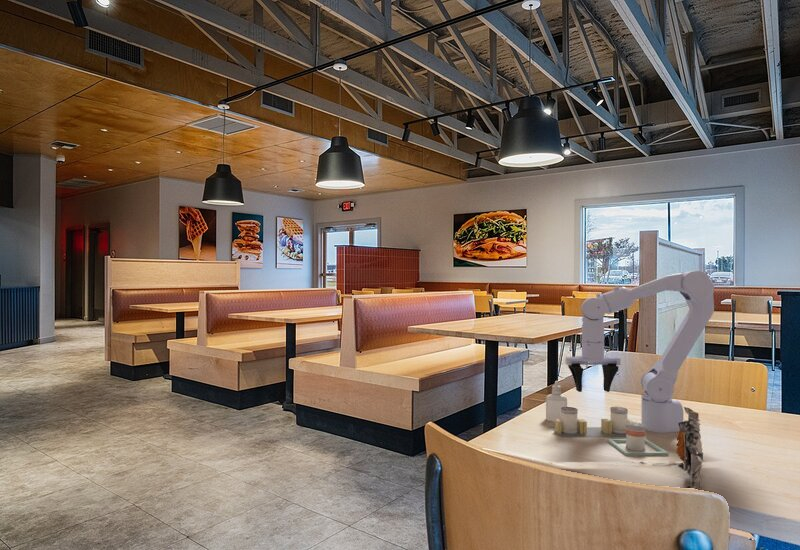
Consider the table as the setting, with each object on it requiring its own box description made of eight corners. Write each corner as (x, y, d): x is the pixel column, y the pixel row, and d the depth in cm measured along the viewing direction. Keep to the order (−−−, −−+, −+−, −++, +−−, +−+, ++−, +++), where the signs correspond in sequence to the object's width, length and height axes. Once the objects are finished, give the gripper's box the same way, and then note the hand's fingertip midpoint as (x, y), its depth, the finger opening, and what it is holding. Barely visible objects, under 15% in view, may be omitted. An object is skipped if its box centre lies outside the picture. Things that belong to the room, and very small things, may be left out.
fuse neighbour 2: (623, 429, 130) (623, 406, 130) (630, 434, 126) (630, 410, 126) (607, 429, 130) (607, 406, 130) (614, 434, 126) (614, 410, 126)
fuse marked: (649, 452, 115) (649, 426, 115) (635, 454, 114) (635, 428, 114) (635, 446, 119) (635, 421, 119) (621, 448, 117) (622, 423, 117)
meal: (674, 465, 109) (674, 405, 109) (697, 468, 107) (697, 408, 107) (677, 492, 95) (677, 423, 95) (703, 496, 93) (704, 427, 93)
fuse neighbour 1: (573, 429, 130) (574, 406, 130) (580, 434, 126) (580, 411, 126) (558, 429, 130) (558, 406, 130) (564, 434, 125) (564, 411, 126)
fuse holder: (624, 431, 132) (624, 415, 132) (640, 441, 124) (640, 424, 124) (550, 431, 132) (550, 416, 132) (561, 442, 124) (561, 425, 124)
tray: (646, 446, 121) (646, 438, 121) (668, 460, 111) (668, 452, 111) (607, 446, 121) (607, 438, 121) (626, 461, 111) (626, 453, 111)
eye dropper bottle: (562, 427, 135) (562, 383, 135) (543, 423, 139) (543, 381, 139) (569, 424, 138) (569, 381, 138) (550, 420, 142) (550, 378, 142)
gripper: (612, 339, 140) (612, 387, 140) (561, 339, 140) (561, 387, 140) (624, 343, 133) (624, 393, 133) (570, 343, 133) (570, 393, 133)
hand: (592, 391), depth 136 cm, fingers open, 7 cm apart
